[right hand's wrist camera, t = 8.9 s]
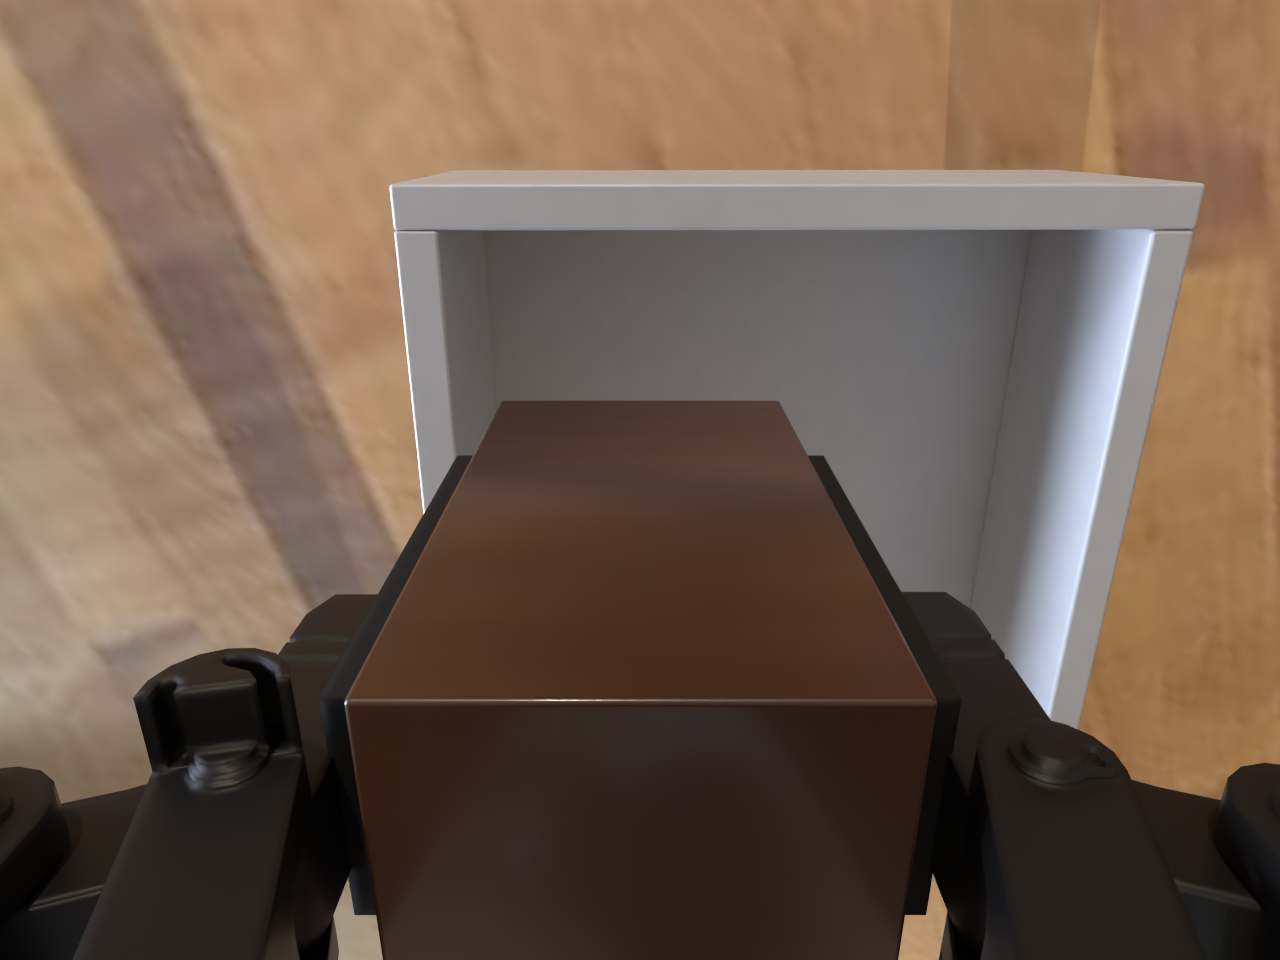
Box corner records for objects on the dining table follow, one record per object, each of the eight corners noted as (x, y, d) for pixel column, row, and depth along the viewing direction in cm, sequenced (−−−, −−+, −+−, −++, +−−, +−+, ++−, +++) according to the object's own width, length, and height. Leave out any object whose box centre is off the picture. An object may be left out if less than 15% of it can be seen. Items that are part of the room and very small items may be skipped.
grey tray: (916, 1000, 32) (974, 1179, 26) (516, 1002, 31) (492, 1182, 26) (1059, 169, 21) (1206, 183, 15) (452, 170, 21) (387, 183, 15)
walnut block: (515, 639, 16) (401, 1099, 8) (500, 399, 14) (341, 700, 6) (765, 640, 16) (878, 1099, 8) (780, 399, 14) (941, 701, 6)
